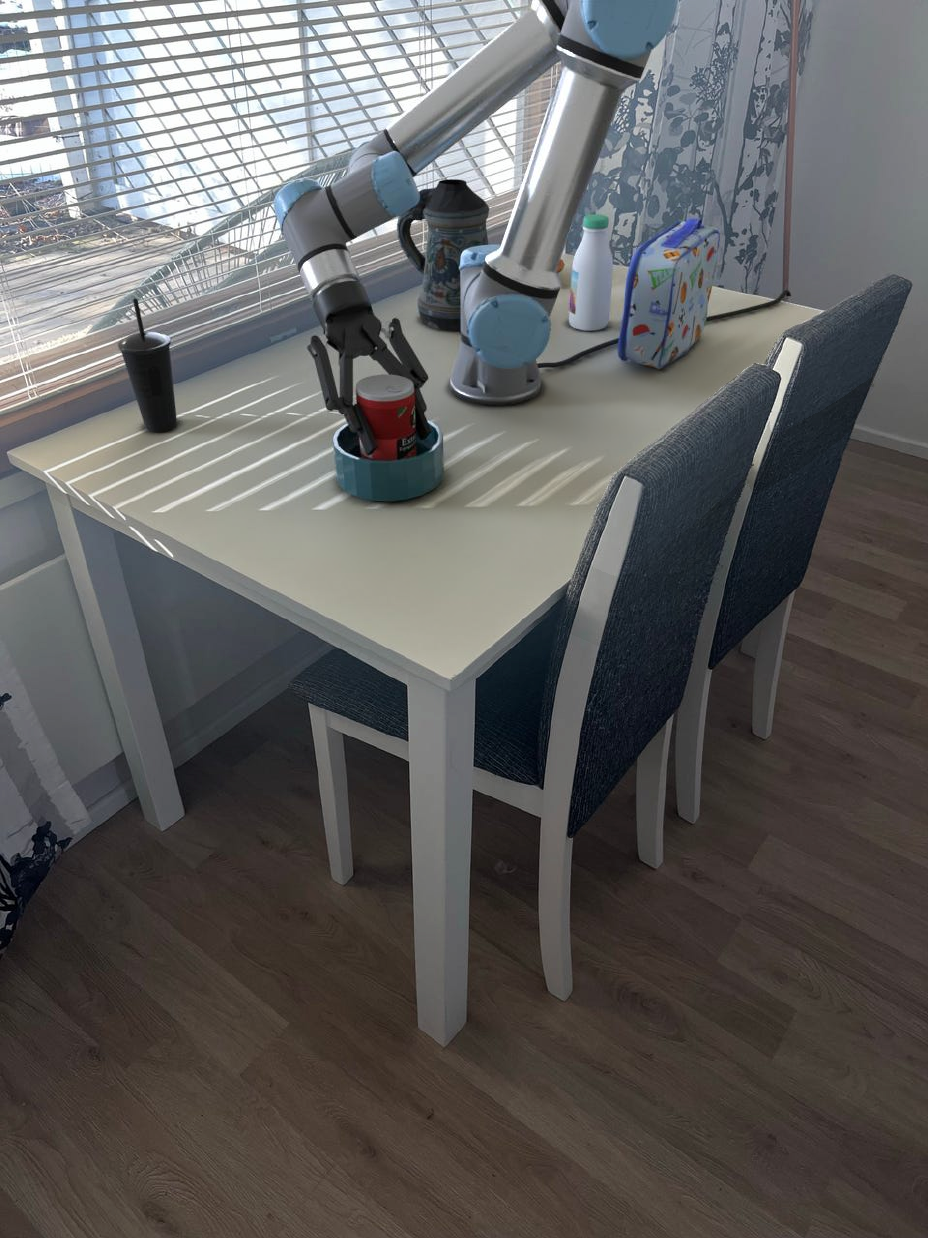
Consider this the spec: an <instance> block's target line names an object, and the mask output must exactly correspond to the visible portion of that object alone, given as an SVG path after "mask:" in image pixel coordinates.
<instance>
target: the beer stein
mask: <svg viewBox="0 0 928 1238" xmlns="http://www.w3.org/2000/svg"><path fill="white" fill-rule="evenodd" d="M418 191H419V194H420V200H419V202H418V204H417V205H416V206H414V207H412V208H411V209H409V210H408V211H406V212H404V214H403V215H401V216H400V217H399V216H398V219H397V223H396V235H397V240H398V243H399V245H400V248H401V249H402V251H403V253H404V255H405V256H406V258H407V259H408V261H409V262H410V263H411V264H412V265H413V267H414V268H415V269H416V270H417V271H418V272H419V273H420V274H422V275H423V280H422V285H421V289H420V293H419V296H418V299H417V310H418V313H419V317H420V320H421V323H422V324H424V325H425V326H427V327H428V328H432V329H436V330H438V331H446V332H461V287H460V271H459V266H460V260H461V254H462V252H463V251H464V250H466V249H468V248H470V247H475V246H482V245H489V237H488V230H487V221H488V218H489V215H490V214H489V213H490V207H489V205H488V203H487V202H486V201H485V199H483V198H482V197H481V196H479V195H478V194H476V192H475V191H473V190H472V188H470V187H469V185H468V184H467V181H466V180H463V179H458V178H455V179H453V178H450V179H441V180H439V181H438V183H437V185H436V186H435V187H432V188H423V189H421V190H418ZM424 220H425V221H426V223H427V236H426V237H427V238H426V248H425V256H424V255H423V253H422V252H421V251H420V250H419V249H418V247H417V246H416V243H415V242H414V239H413V238H412V235H411V227H412V224H413V222H414V221H416V222H417V221H419V222H421V221H424Z"/></svg>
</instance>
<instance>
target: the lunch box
mask: <svg viewBox="0 0 928 1238" xmlns="http://www.w3.org/2000/svg"><path fill="white" fill-rule="evenodd" d="M702 223H703V218H702V217H699V218H688V219H686V221H676V222H674V223H673V224H672V225H671V226H669V227H668V228H666V229H665V230H663V231H661V232H660V233H657V234H656V235H655V236H653V237H652V238H650V239H648V240H647V241H645V242H644V243H642V244H640V246H639V247H638V248H637V249H636V250H635V252H634V253H633V255H632V257H631V260H630V262H629V267H628V271H627V275H626V278H625V279H626V280H625V287H624V288H625V289H624V300H623V301H624V302H623V310H622V317H621V326H620V331H619V336H618V338H619V341H618V343H617V356H618V359H619V360H621V361H622V362H627V361H630V362H632V363H636V364H639V365H642V366H646V367H651V368H654V369H658V370H659V369H663V368H664V367H665V366H667V365H669V364H671V363H673V362H674V361H676V360H677V359H678V358H680V357H682V356H684V355H685V354H687V353H689V350H690V349H691V348H692V347H693V346H694V345H695V344H696V343H697V341H699V339H700V338H701V336H702V334H703V332H704V329H705V326H706V323H707V322H706V318H707V317H708V310H709V302H710V297H711V293H712V291H713V290H712V289H713V284H714V281H715V280H714V279H715V275H716V269H717V264H718V253H719V249H720V248H719V247H720V241H721V235H720V231H719V229H718V228H716V227H712V226H705V225H704V224H703V225H702Z"/></svg>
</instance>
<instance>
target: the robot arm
mask: <svg viewBox="0 0 928 1238" xmlns="http://www.w3.org/2000/svg"><path fill="white" fill-rule="evenodd" d="M677 9H678V0H532V1H531V6H530V8H529V9H528V10H527V11H525V12H524V13H523V14H521V16H519V17H518V18H517V19H516V20H514V21H513V22H512V23H511V24H509V25H508V26H507V27H506V28H505V29H503V30H502V31H501V32H500V33H499V34H497V35H496V36H495V37H494V38H493V39H491V40H490V41H489V42H488V43H487V44H485V45H484V46H483V47H482V48H481V49H480V50H478V51H477V52H475V54H473V55H472V56H471V57H469V59H467V60H466V61H465V62H463V64H461V65H460V66H459V67H458V68H456V69H455V70H454V71H453V72H452V73H450V74H449V75H448V76H447V77H445V78H444V79H443V80H442V81H441V82H440V83H438V84H437V85H436V86H435V87H434V88H432V89H431V90H430V91H429V92H427V93H426V94H425V95H424V96H422V97H421V98H420V99H419V100H418V101H416V102H415V103H414V104H413V105H412V106H410V107H409V108H408V109H407V110H405V111H404V112H403V113H402V114H401V115H400V116H398V117H397V118H396V119H395V120H393V121H392V122H391V123H390V124H388V126H386V128H385V129H383V130H382V131H381V132H379V133H378V134H377V135H375V136H374V137H373V138H372V139H369V140H366V141H363V142H361V143H360V144H358V146H356V148H355V149H354V150H353V151H352V153H351V155H350V157H349V159H348V163H347V175H345V176H344V177H342V178H340V179H338V180H337V181H335V182H334V183H331V184H329V185H328V186H324V187H322V185H321V183H320V182H318V181H317V180H316V179H312V178H301V179H300V180H298V181H295V180H293V181H291V182H290V183H287V184H285V185H284V186H283V187H282V188H281V189H279V190H278V191H277V193H276V195H275V197H274V199H273V210H274V212H275V216H276V219H277V221H278V224H279V228H280V234H281V235H282V236H283V238H284V241H285V243H286V245H287V248H288V249H289V252H290V254H291V256H292V258H293V261H294V263H295V266H296V268H297V271H298V274H299V276H300V278H301V281H302V283H303V286H304V288H305V290H306V292H307V295H308V297H309V300H310V301H311V302H312V307H313V310H314V312H315V315H316V317H317V320H318V322H319V324H320V326H321V328H322V330H323V332H322V333H323V334H321V335H319V336H318V335H316V334H315V335H312V336H311V338H310V340H309V341H308V344H307V346H306V349H307V351H308V352H309V354H310V355H311V357H312V359H313V360H314V365H315V368H316V373H317V377H318V380H319V385H320V388H321V393H322V397H323V401H324V405H325V408H326V410H327V411H329V412H333V411H337V412H338V413H339V414H340V415H343V416H344V419H345V421H346V424H347V423H348V426H349V428H350V430H351V431H352V433H354V432H357V433H358V435H359V437H360V440H361V442H362V445H363V447H364V449H365V452H366V454H367V456H368V455H371V454H373V452H374V451H375V450H376V449H377V448H378V446H377V444H376V441H375V439H374V436H373V434H372V432H371V429H370V427H369V424H368V422H367V419H366V417H365V415H364V412H363V410H362V407H361V405H360V403H357V402H356V403H354V359H356V358H358V357H367V356H369V357H370V358H371V359H372V360H373V361H376V362H377V363H378V364H379V365H380V366H381V367H382V369H383V370H384V371H385V372H386V373H387V374H389V375H397V376H402V377H405V378H407V379H409V380H411V381H412V382H413V384H414V395H415V423H416V431H417V433H418V436H419V438H420V440H424V439H426V438H427V437H428V435H429V434H430V433H431V432H432V431H431V428H430V426H429V424H428V421H429V420H428V419H427V417H426V414H425V413H426V412H427V411H428V407H427V403H426V401H425V399H424V397H423V394H422V392H421V389H422V388H423V386H424V385H425V384H426V382H427V381H428V380H429V375H428V373H427V371H426V369H425V368H424V366H423V365H422V363H421V361H420V360H419V358H418V356H417V355H416V353H415V351H414V349H413V348H412V346H411V344H410V343H409V341H408V339H407V338H406V336H405V335H404V333H403V329H402V323H401V321H400V319H399V318H397V317H393V318H392V319H391V321H381V320H380V318H378V317H377V316H376V315H375V313H374V310H373V306H372V303H371V301H370V298H369V296H368V294H367V291H366V289H365V285H363V283H362V282H361V276H360V274H359V271H358V269H357V267H356V265H355V263H354V261H353V257H352V256H351V253H350V250H349V248H348V246H347V244H348V243H349V242H351V241H353V240H355V239H357V238H359V237H360V236H362V235H364V234H367V233H368V232H370V231H373V230H374V229H377V228H378V227H380V226H382V225H384V224H385V223H388V222H390V221H391V220H393V219H395V218H399V217H400V216H401V215H403V214H404V212H406V211H408V210H409V209H411V208H412V207H414V206H416V205H417V204H418V202H419V200H420V194H419V191H420V190H419V189H418V186H417V183H416V181H415V179H414V178H415V177H416V176H417V175H418V174H419V173H420V172H422V171H423V170H424V169H426V168H427V167H428V166H430V164H432V163H433V162H434V161H436V160H437V159H439V158H440V157H441V156H442V155H443V154H444V153H446V152H447V151H448V150H450V149H451V148H452V147H453V146H455V145H456V144H457V143H458V142H459V141H461V140H462V139H464V138H465V137H466V136H467V135H469V134H470V133H471V132H472V131H473V130H475V129H476V128H477V127H478V126H480V125H481V124H482V123H483V122H485V121H486V120H487V119H488V118H490V117H491V116H492V115H493V114H495V113H496V112H498V111H499V110H500V109H502V107H504V106H505V105H506V104H508V103H509V102H510V101H511V100H513V99H514V98H515V97H516V96H517V95H519V94H520V93H521V92H523V91H524V90H525V89H527V88H528V87H529V86H530V85H531V84H533V83H534V82H535V81H536V80H538V79H539V78H540V77H541V76H543V75H544V74H545V73H547V72H548V71H549V70H550V69H552V68H553V67H554V66H555V65H556V64H558V63H559V62H560V63H561V65H560V66H561V68H560V71H559V74H558V76H557V80H556V83H555V86H554V88H553V92H552V95H551V97H550V100H549V103H548V106H547V109H546V112H545V115H544V119H543V121H542V124H541V126H540V130H539V133H538V136H537V138H536V141H535V145H534V148H533V151H532V153H531V157H530V159H529V162H528V164H527V168H526V171H525V173H524V177H523V180H522V183H521V185H520V188H519V191H518V194H517V197H516V200H515V203H514V207H513V209H512V212H511V215H510V218H509V221H508V223H507V227H506V230H505V232H504V236H503V239H502V242H501V244H488V245H482V246H475V247H470V248H468V249H466V250H464V251H463V252H462V254H461V260H460V266H459V271H460V287H461V331H460V344H459V348H458V351H457V354H456V356H455V360H454V363H453V367H452V370H451V373H450V380H449V381H450V384H449V385H450V386H449V387H450V391H451V392H452V393H453V395H455V396H456V397H457V398H459V399H461V400H464V401H466V402H468V403H472V404H476V405H484V406H508V405H515V404H520V403H523V402H526V401H528V400H531V399H533V398H534V397H536V396H537V395H538V394H539V393H540V391H541V387H542V386H541V385H542V384H541V383H542V378H541V372H540V369H547V368H550V369H552V368H553V369H554V368H561V367H565V366H567V365H570V364H571V363H573V362H575V361H577V360H580V359H582V358H584V357H586V356H588V355H591V354H593V353H596V352H597V351H600V350H603V349H606V348H608V347H611V346H613V345H618V341H619V337H617V338H614V339H611V340H609V341H605V342H602V343H599V344H597V345H595V346H592V347H590V348H587V349H585V350H582V351H580V352H578V353H576V354H574V355H572V356H570V357H568V358H565V359H563V360H560V361H555V362H537V359H538V358H540V356H541V355H542V354H543V353H544V351H545V350H546V348H547V346H548V344H549V342H550V337H551V331H552V328H551V327H552V321H551V319H550V317H551V314H552V312H553V310H554V309H553V308H554V306H555V303H556V301H557V299H558V296H559V293H560V290H561V289H562V281H561V278H560V276H559V273H558V274H557V266H558V263H559V261H560V259H561V258H562V255H563V252H564V250H565V248H566V245H567V242H568V239H569V237H570V234H571V232H572V228H573V226H574V224H575V221H576V218H577V215H578V212H579V210H580V207H581V205H582V202H583V199H584V197H585V195H586V191H587V189H588V187H589V184H590V181H591V179H592V176H593V173H594V171H595V168H596V166H597V163H598V159H599V158H600V155H601V152H602V149H603V146H604V145H605V141H606V138H607V136H608V134H609V131H610V128H611V125H612V124H613V120H614V117H615V114H616V112H617V109H618V107H619V104H620V101H621V99H622V96H623V93H624V92H625V91H626V89H629V87H632V86H634V85H635V84H637V83H639V82H640V81H641V79H642V77H643V74H644V72H645V70H646V66H647V64H648V62H649V58H650V57H651V53H652V51H653V50H654V49H655V48H656V47H658V45H659V44H660V43H661V42H662V41H663V40H664V38H665V37H666V35H667V34H668V33H669V31H670V29H671V27H672V25H673V22H674V20H675V18H676V13H677ZM785 297H792V294H791V291H790V290H788V289H784V290H783V291H782V292H781V294H779V296H778V297H777V298H775V299H773V300H770V301H767V302H764V303H760V304H757V305H752V306H749V307H746V308H741V309H738V310H737V309H736V310H732V311H729V312H724V313H719V314H714V315H709V316H707V318H706V323H707V322H711V321H717V320H722V319H725V318H731V317H734V316H739V315H744V314H747V313H750V312H754V311H758V310H762V309H765V308H769V307H772V306H775V305H777V304H779V303H780V302H782V300H783V299H784V298H785ZM381 333H382V334H384V337H385V339H387V340H388V341H389V344H390V346H391V348H392V349H393V351H394V353H395V355H396V356H397V357H396V356H395V355H394V354H393V353H392V351H391V350H390V349H389V348H388V345H387V343H386V342H385V341H384V339H383V338H382V337H381V336H380V335H381ZM328 346H329V347H331V348H332V349H333V350H336V352H338V366H339V394H338V389H337V385H336V381H335V377H334V373H333V369H332V364H331V361H330V356H329V353H328V348H329V347H328ZM427 420H428V421H427Z"/></svg>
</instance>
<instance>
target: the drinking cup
mask: <svg viewBox="0 0 928 1238" xmlns="http://www.w3.org/2000/svg"><path fill="white" fill-rule="evenodd" d="M132 304H133V307H134V308H133V309H134V312H135V317H136V321H137V322H136V323H137V327H138V332H134V333H131V334H129V335H128V336H126V337H124V338H122V339H121V340H119V341H118V343H117V348H118V350H119V351H120V352H121V356H122V358H123V362H124V365H125V368H126V372H127V374H128V377H129V380H130V384H131V386H132V389H133V393H134V396H135V399H136V402H137V405H138V409H139V411H140V414H141V418H142V421H143V424H144V426H145V430H146V431H148V432H150V433H165V432H169V431H172V430H173V429H175V428H176V427H177V426H178V420H177V419H178V418H177V409H176V397H175V390H174V380H173V379H174V378H173V369H172V358H171V348H170V346H171V338H170V337H169V336H168V335H166V334H163V333H159V332H155V331H150V330H149V331H148V330H147V331H146V330H145V329H144V328H145V327H144V323H143V318H142V313H141V310H140V305H139V299H138V298H132Z"/></svg>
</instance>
